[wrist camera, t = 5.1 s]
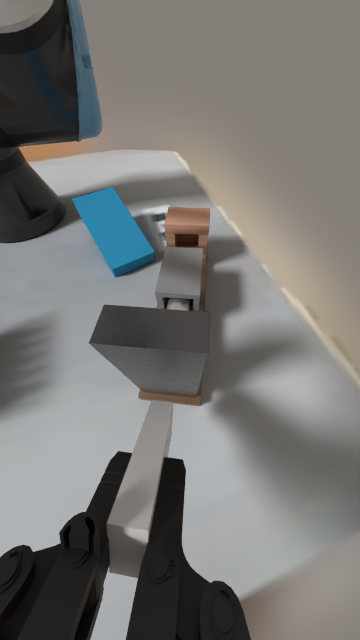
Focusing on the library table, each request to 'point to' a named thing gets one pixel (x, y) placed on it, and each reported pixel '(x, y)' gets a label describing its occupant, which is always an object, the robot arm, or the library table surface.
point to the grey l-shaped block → (156, 345)
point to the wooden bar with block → (183, 272)
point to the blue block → (114, 231)
